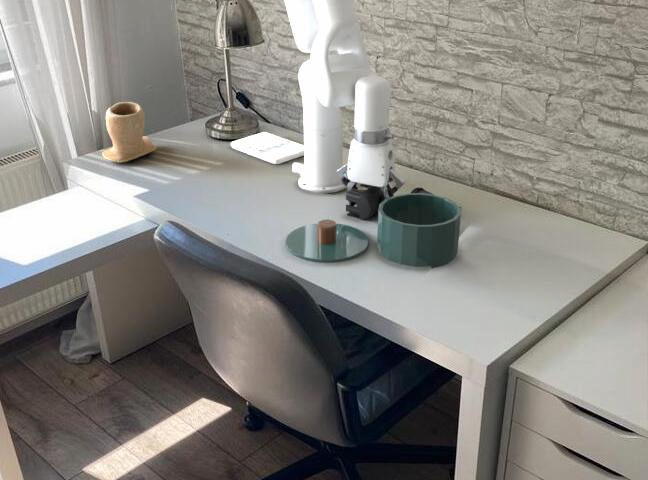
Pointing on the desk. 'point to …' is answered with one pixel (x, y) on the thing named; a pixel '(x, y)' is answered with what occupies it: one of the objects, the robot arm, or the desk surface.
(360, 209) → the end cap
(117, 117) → the stone cup
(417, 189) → the electric trimmer
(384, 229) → the canister
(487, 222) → the desk surface
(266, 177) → the desk surface
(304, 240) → the lid
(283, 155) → the white flat block
